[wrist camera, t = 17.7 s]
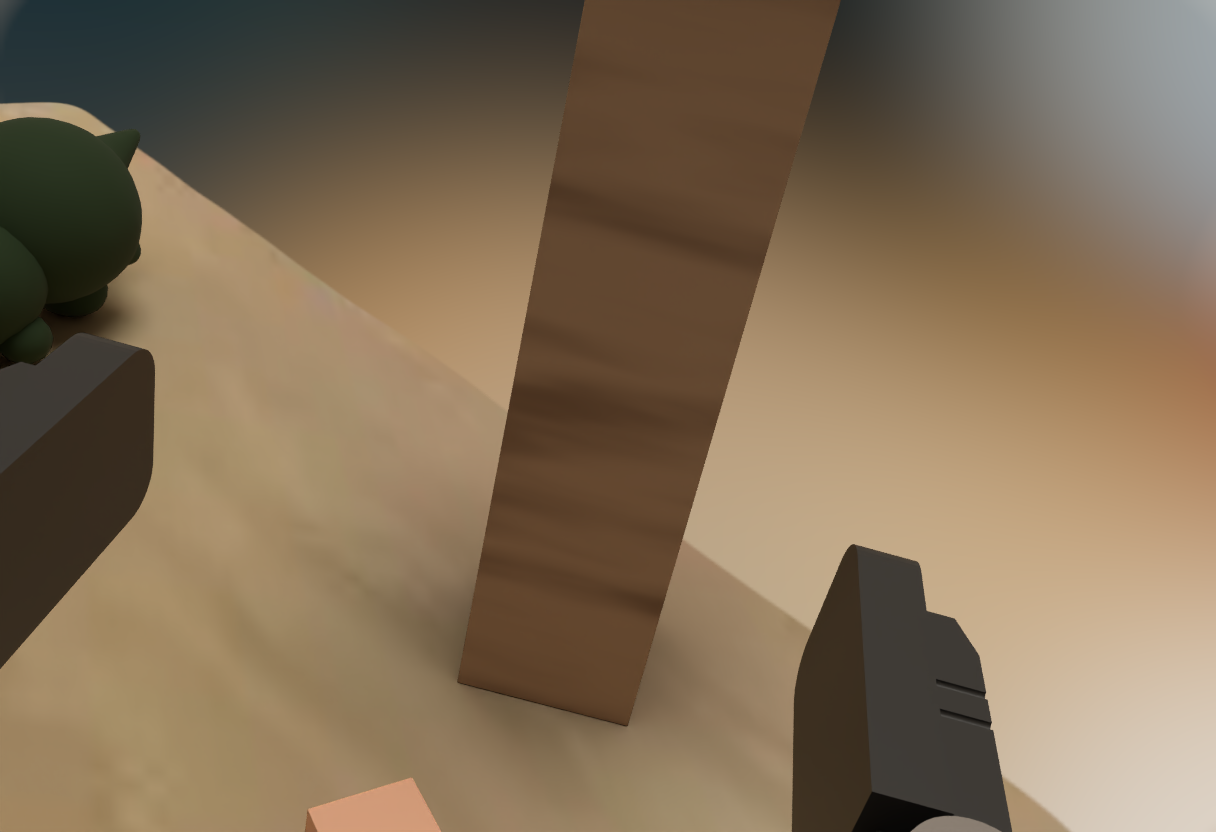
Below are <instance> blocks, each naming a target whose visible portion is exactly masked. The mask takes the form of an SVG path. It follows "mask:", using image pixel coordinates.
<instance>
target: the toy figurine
mask: <svg viewBox="0 0 1216 832" xmlns="http://www.w3.org/2000/svg"><path fill="white" fill-rule="evenodd" d="M139 141H140V133H139V132H138V131H137V130H136V129H129V130H123V131H118V132H114V133H110V134H105V135H101V136H94V135H93V134H91V133H90V132H88V131H86V130H84V129H82V128H80V127H77V126H75V125H72V124H70V123H67V122H63V121H59V120H54V119H50V118H34V117H27V118H17V119H12V120H7V121H4V122H0V352H1V353H2V354H3V355H4V356H5V357H6V358H8V359H9V360H10V361H13V362H16V363H19V362H24V363H28V364H31V363H33V362H36V361H38V360H41V359H43V358H45V357H46V355H47V353H48V352H49V350H50V349H51V347H52V342H53V335H52V332H51V329H50V327H49V326H48V325H47V324H46V323H45V322H44V321H43V320H42V318H40V317H39V315H40V314H41V312H42V310H43V308H45V309H47V310H49V311H51V312H54V313H57V314H60V315H65V316H70V317H76V316H84V315H87V314H90V313H92V312H95V311H97V310H98V309H99V308H100V307H101V306H102V305H103V304H104V302H105V299H106V297H107V291H108V287H107V284H108V283H110V282H111V281H112V280H114V279H115V278H116V277H117V276H118V275H119V274H120V273H121V272H122V271H123V270H124V269H125V268H126V267H127V266H128V265H130V264H133V263H134V262H136V261H137V260H138V259H139V257H140V254H141V248H140V245H139V239H140V234H141V226H142V209H141V202H140V198H139V195H138V192H137V189H136V186H135V184H134V181H133V178H132V176H131V175H130V173H129V171H128V167H129V164H130V162H131V160H132V157H133V155H134V153H135V150H136V148H137V146H138V143H139Z"/></svg>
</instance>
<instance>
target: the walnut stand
mask: <svg viewBox="0 0 1216 832" xmlns="http://www.w3.org/2000/svg"><path fill="white" fill-rule="evenodd" d="M840 1H841V0H585V3H584V8H583V13H582V19H581V24H580V30H579V35H578V40H577V45H576V51H575V56H574V62H573V67H572V72H571V77H570V83H569V88H568V94H567V99H566V105H565V110H564V115H563V120H562V126H561V131H560V136H559V142H558V148H557V153H556V158H555V164H554V168H553V174H552V179H551V185H550V190H549V195H548V200H547V206H546V212H545V217H544V222H543V227H542V233H541V238H540V244H539V249H538V254H537V259H536V265H535V270H534V275H533V281H532V286H531V291H530V297H529V303H528V307H527V313H526V318H525V324H524V329H523V334H522V340H521V345H520V351H519V356H518V361H517V367H516V372H515V377H514V383H513V388H512V393H511V399H510V404H509V409H508V414H507V420H506V425H505V431H504V436H503V441H502V447H501V452H500V457H499V463H498V468H497V473H496V479H495V484H494V489H493V495H492V500H491V505H490V511H489V516H488V521H487V527H486V532H485V538H484V543H483V548H482V554H481V559H480V564H479V570H478V575H477V580H476V586H475V591H474V596H473V602H472V607H471V612H470V618H469V623H468V628H467V634H466V639H465V645H464V650H463V655H462V661H461V666H460V671H459V677H458V682H459V683H463V684H467V685H471V686H475V687H479V688H482V689H486V690H490V691H494V692H498V693H502V694H506V695H510V696H513V697H517V698H521V699H525V700H529V701H533V702H537V703H541V704H544V705H548V706H552V707H556V708H560V709H564V710H568V711H572V712H575V713H579V714H583V715H587V716H591V717H595V718H599V719H602V720H606V721H610V722H614V723H618V724H622V725H626V726H628V722H629V719H630V716H631V712H632V709H633V705H634V702H635V699H636V695H637V692H638V688H639V685H640V682H641V678H642V675H643V671H644V668H645V665H646V661H647V658H648V654H649V651H650V648H651V644H652V641H653V637H654V634H655V631H656V627H657V624H658V620H659V617H660V613H661V610H662V607H663V603H664V600H665V596H666V593H667V590H668V586H669V583H670V579H671V576H672V573H673V569H674V566H675V562H676V559H677V556H678V552H679V549H680V545H681V542H682V539H683V535H684V532H685V528H686V525H687V522H688V518H689V514H690V511H691V508H692V504H693V501H694V498H695V494H696V491H697V488H698V484H699V481H700V477H701V474H702V471H703V467H704V464H705V460H706V457H707V453H708V450H709V446H710V443H711V440H712V436H713V433H714V430H715V426H716V423H717V419H718V416H719V412H720V409H721V406H722V402H723V399H724V396H725V392H726V389H727V385H728V382H729V379H730V375H731V372H732V368H733V365H734V361H735V358H736V354H737V351H738V348H739V345H740V341H741V338H742V334H743V331H744V328H745V324H746V321H747V317H748V314H749V310H750V307H751V304H752V300H753V297H754V293H755V290H756V287H757V283H758V279H759V276H760V273H761V270H762V266H763V263H764V259H765V256H766V252H767V249H768V246H769V242H770V239H771V235H772V232H773V229H774V225H775V222H776V219H777V215H778V212H779V208H780V205H781V202H782V198H783V194H784V191H785V188H786V185H787V181H788V178H789V174H790V171H791V167H792V164H793V160H794V157H795V154H796V150H797V147H798V144H799V140H800V137H801V133H802V130H803V127H804V123H805V120H806V116H807V113H808V110H809V106H810V103H811V99H812V96H813V92H814V89H815V86H816V82H817V79H818V76H819V72H820V69H821V65H822V62H823V58H824V55H825V52H826V48H827V45H828V42H829V38H830V35H831V31H832V28H833V24H834V21H835V18H836V14H837V11H838V7H839V4H840Z"/></svg>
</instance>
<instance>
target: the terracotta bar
mask: <svg viewBox="0 0 1216 832" xmlns="http://www.w3.org/2000/svg"><path fill="white" fill-rule="evenodd" d="M305 832H441V831H440V829H439V827H438V825H437V823H436V821H435V819H434V817H433V816H432V814H431V812H430V810H429V808H428V806H427V804H426V803H425V801H424V799H423V797H422V795H421V793H420V791H419V789H418V788H417V786H416V784H415V782H414V780H413V778H408V779H405V780H402V781H399V782H395V783H392V784H389V785H385V786H382V787H379V788H375V789H372V790H369V791H366V792H362V793H359V794H356V795H352V796H349V797H346V798H342V799H339V800H336V801H333V802H329V803H326V804H323V805H319V806H316V807H313V808H310V809H308V810H307V819H306V829H305Z"/></svg>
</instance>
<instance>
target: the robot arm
mask: <svg viewBox="0 0 1216 832" xmlns="http://www.w3.org/2000/svg"><path fill="white" fill-rule="evenodd" d="M154 392H155V365H154V360H153V357H152V355H151V353H150V352H149V351H148V350H145V349H142V348H138V347H135V346H131V345H127V344H124V343H120V342H116V341H113V340H109V339H105V338H102V337H98V336H94V335H90V334H87V333H78V334H75V335H74V336H72V337H71V338H69V339H68V340H67V341H66V342H64V343H63V344H62V345H61V346H59V347H58V348H57V349H56V350H54V351H53V352H52V353H51V354H49V355H48V356H47V357H46V358H44V359H43V360H42V361H41V362H39V363H38V364H37V365H36V366H35V365H31V364H28V363H24V362H19V363H16V364H14V365H11V366H8V367H5V368H3V369H0V669H1V667H2V666H3V665H4V664H5V663H6V662H7V661H8V659H9V658H10V657H11V656H12V655H13V654H14V652H15V651H16V650H17V649H18V648H19V647H20V646H21V644H22V643H23V642H24V641H25V640H26V639H27V638H28V636H29V635H30V634H31V633H32V632H33V631H34V630H35V628H36V627H37V626H38V625H39V624H40V623H41V622H42V620H43V619H44V618H45V617H46V616H47V615H48V614H49V612H50V611H51V610H52V609H53V608H54V607H55V606H56V604H57V603H58V602H59V601H60V600H61V599H62V598H63V596H64V595H65V594H66V593H67V592H68V591H69V590H70V588H71V587H72V586H73V585H74V584H75V583H76V582H77V580H78V579H79V578H80V577H81V576H82V575H83V574H84V572H85V571H86V570H87V569H88V568H89V567H90V566H91V564H92V563H93V562H94V561H95V560H96V559H97V558H98V556H99V555H100V554H101V553H102V552H103V551H104V549H105V548H106V547H107V546H108V545H109V544H110V543H111V541H112V540H113V539H114V538H115V537H116V536H117V535H118V533H119V532H120V531H121V530H122V529H123V528H124V527H125V525H126V524H127V523H128V522H129V521H130V520H131V519H132V517H133V516H134V515H135V513H136V512H137V510H138V509H139V507H140V505H141V503H142V501H143V499H144V497H145V494H146V492H147V489H148V486H149V482H150V479H151V474H152V468H153V441H154ZM985 694H986V690H985V684H984V679H983V674H982V668H981V663H980V657H979V655H978V653H977V652H976V650H975V649H974V647H973V646H972V644H971V643H970V641H969V640H968V638H967V637H966V635H965V634H964V632H963V631H962V629H961V627H960V626H959V625H958V623H957V622H956V620H955V619H954V618H950V617H947V616H943V615H939V614H935V613H932V612H928V611H926V603H925V596H924V589H923V581H922V574H921V568H920V565H919V563H918V562H917V561H913V560H909V559H906V558H902V557H898V556H894V555H891V554H887V553H884V552H880V551H876V550H873V549H869V548H865V547H862V546H858V545H854V544H853V545H851V546H850V547H849V548H848V549H847V551H846V552H845V554H844V556H843V558H842V561H841V563H840V565H839V567H838V570H837V572H836V575H835V577H834V580H833V582H832V584H831V587H830V589H829V591H828V594H827V596H826V599H825V601H824V603H823V606H822V608H821V611H820V613H819V615H818V618H817V620H816V623H815V625H814V627H813V630H812V632H811V634H810V637H809V639H808V642H807V644H806V647H805V650H804V653H803V656H802V659H801V663H800V667H799V671H798V675H797V681H796V687H795V695H794V734H793V799H792V832H1012V828H1011V823H1010V818H1009V812H1008V807H1007V802H1006V796H1005V791H1004V786H1003V780H1002V775H1001V770H1000V765H999V759H998V753H997V749H996V744H995V738H994V732H993V730H990V727H991V723H992V721H991V716H990V711H989V706H988V700H986V699H985Z"/></svg>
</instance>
